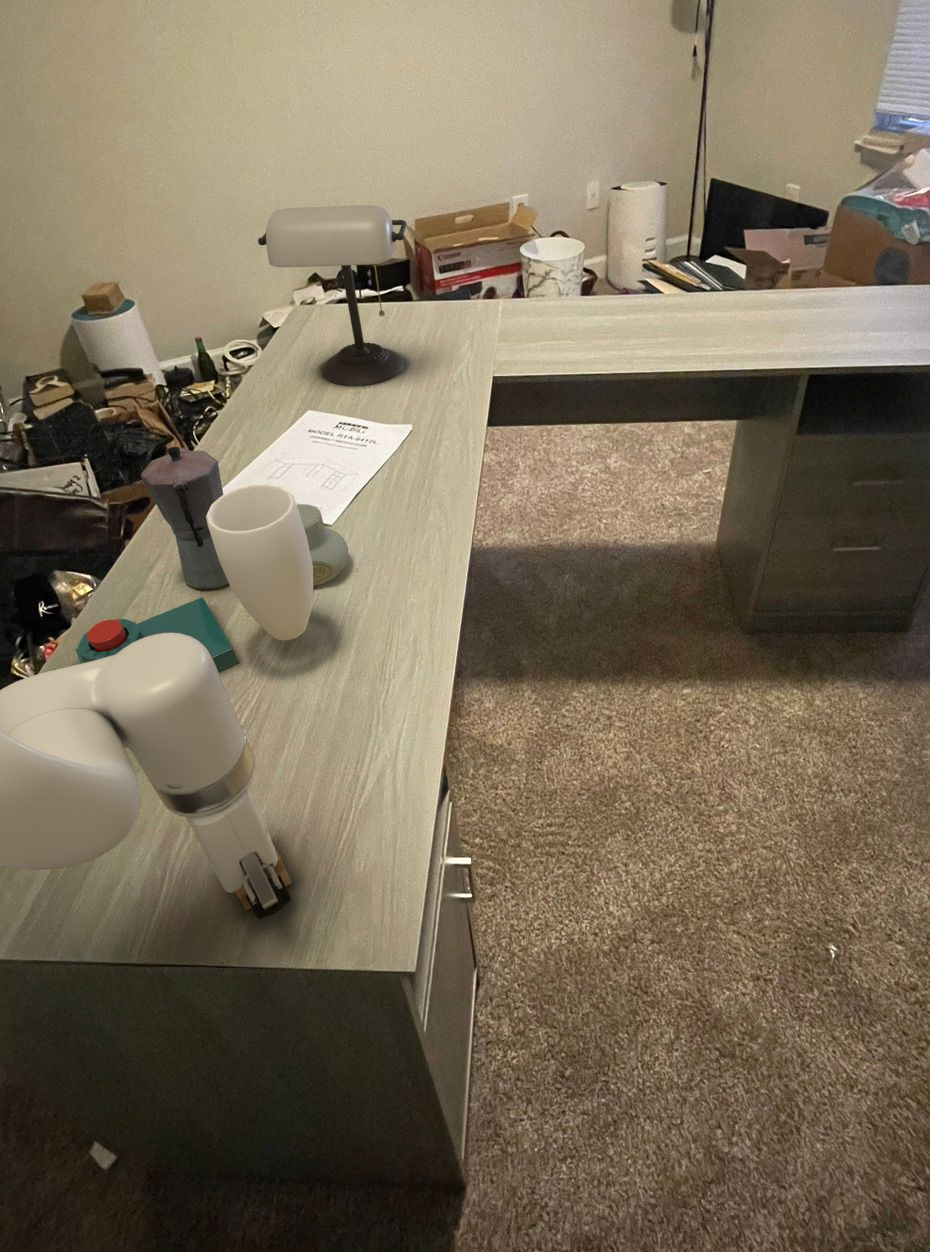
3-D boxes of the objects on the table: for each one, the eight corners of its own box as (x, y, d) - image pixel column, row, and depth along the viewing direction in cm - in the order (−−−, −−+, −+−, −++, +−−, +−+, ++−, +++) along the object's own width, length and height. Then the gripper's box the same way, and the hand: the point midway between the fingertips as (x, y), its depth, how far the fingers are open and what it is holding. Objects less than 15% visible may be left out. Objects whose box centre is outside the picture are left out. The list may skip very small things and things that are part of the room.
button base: (105, 724, 86) (89, 699, 83) (83, 661, 94) (68, 636, 91) (238, 663, 92) (228, 638, 90) (207, 609, 100) (197, 584, 97)
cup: (250, 680, 90) (197, 543, 76) (254, 623, 98) (206, 489, 84) (336, 665, 92) (298, 527, 78) (332, 609, 100) (298, 475, 86)
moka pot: (241, 534, 113) (203, 418, 100) (262, 593, 103) (221, 472, 90) (177, 552, 110) (128, 435, 97) (191, 615, 99) (138, 493, 87)
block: (246, 911, 68) (233, 887, 65) (230, 873, 71) (216, 849, 68) (291, 883, 70) (281, 859, 67) (274, 848, 73) (263, 823, 70)
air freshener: (350, 548, 110) (338, 493, 103) (352, 584, 103) (340, 527, 97) (275, 559, 108) (258, 504, 102) (273, 596, 102) (255, 539, 96)
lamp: (286, 402, 146) (241, 221, 125) (310, 351, 165) (274, 186, 143) (418, 398, 146) (396, 216, 124) (427, 347, 165) (409, 181, 143)
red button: (96, 657, 88) (90, 647, 87) (89, 638, 91) (83, 628, 90) (130, 643, 90) (125, 633, 89) (123, 625, 93) (117, 615, 91)
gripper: (128, 718, 63) (192, 829, 74) (188, 876, 52) (253, 978, 63) (214, 678, 66) (263, 790, 77) (289, 819, 55) (333, 926, 66)
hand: (258, 874), depth 70 cm, fingers open, 7 cm apart
